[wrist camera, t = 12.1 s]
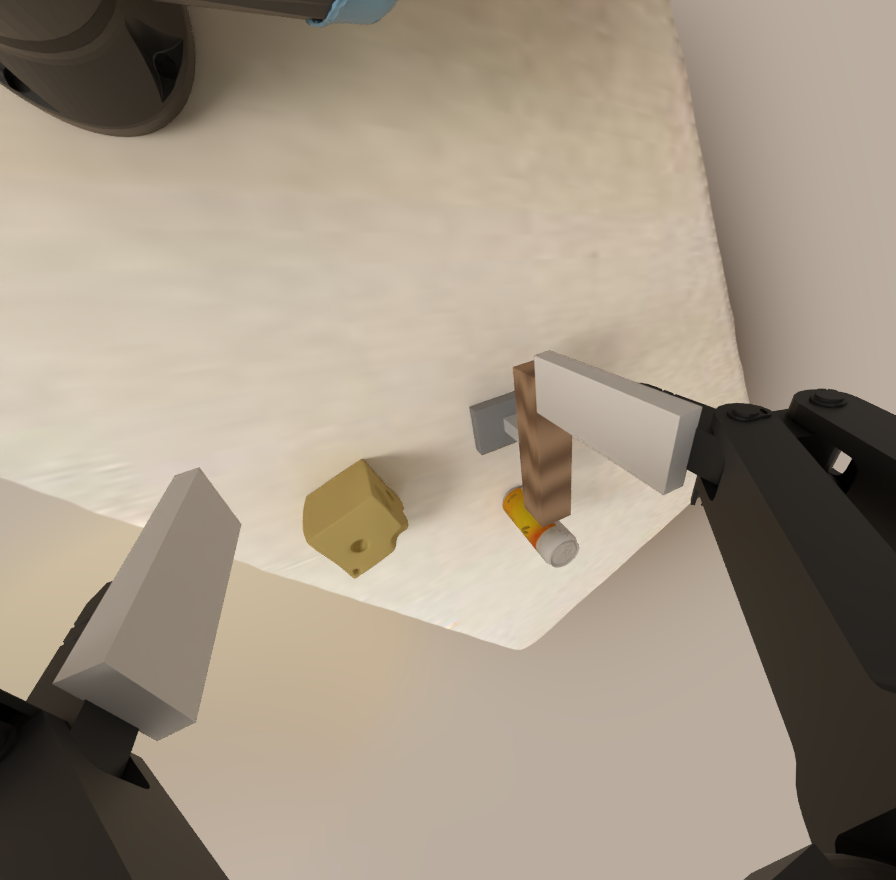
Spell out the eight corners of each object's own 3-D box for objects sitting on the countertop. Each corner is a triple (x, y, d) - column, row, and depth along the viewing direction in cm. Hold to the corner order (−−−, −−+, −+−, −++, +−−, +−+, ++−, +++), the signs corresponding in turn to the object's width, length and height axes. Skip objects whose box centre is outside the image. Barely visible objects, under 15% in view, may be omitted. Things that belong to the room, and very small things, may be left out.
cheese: (400, 496, 54) (417, 538, 46) (344, 535, 54) (352, 584, 46) (362, 453, 48) (374, 492, 40) (299, 496, 48) (299, 545, 40)
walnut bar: (512, 367, 42) (536, 378, 37) (547, 355, 43) (573, 366, 39) (524, 507, 54) (542, 527, 50) (550, 495, 55) (570, 514, 51)
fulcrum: (469, 406, 51) (494, 428, 45) (536, 383, 54) (569, 400, 47) (476, 449, 56) (500, 474, 49) (538, 425, 58) (568, 446, 52)
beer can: (495, 508, 64) (541, 568, 51) (510, 482, 62) (562, 537, 50) (518, 513, 67) (567, 570, 54) (533, 487, 65) (587, 541, 53)
